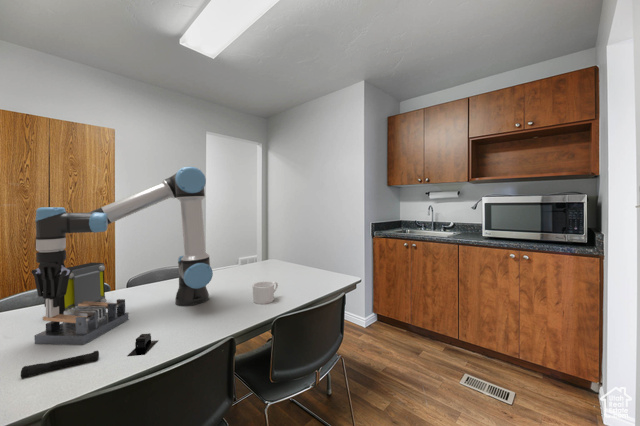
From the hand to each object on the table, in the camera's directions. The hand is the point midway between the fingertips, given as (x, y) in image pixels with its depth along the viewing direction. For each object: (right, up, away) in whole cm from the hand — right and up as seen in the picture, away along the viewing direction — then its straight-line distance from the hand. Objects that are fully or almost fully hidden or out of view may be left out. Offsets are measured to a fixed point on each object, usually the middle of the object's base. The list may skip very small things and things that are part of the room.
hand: (52, 315), depth 96 cm
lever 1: (+5, -2, 0) cm, 5 cm away
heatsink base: (+6, -8, +7) cm, 12 cm away
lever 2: (+5, -1, +13) cm, 14 cm away
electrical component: (-15, -8, +28) cm, 32 cm away
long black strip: (+20, -9, -17) cm, 27 cm away
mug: (+69, -7, +38) cm, 79 cm away
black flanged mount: (+37, -9, -6) cm, 38 cm away
